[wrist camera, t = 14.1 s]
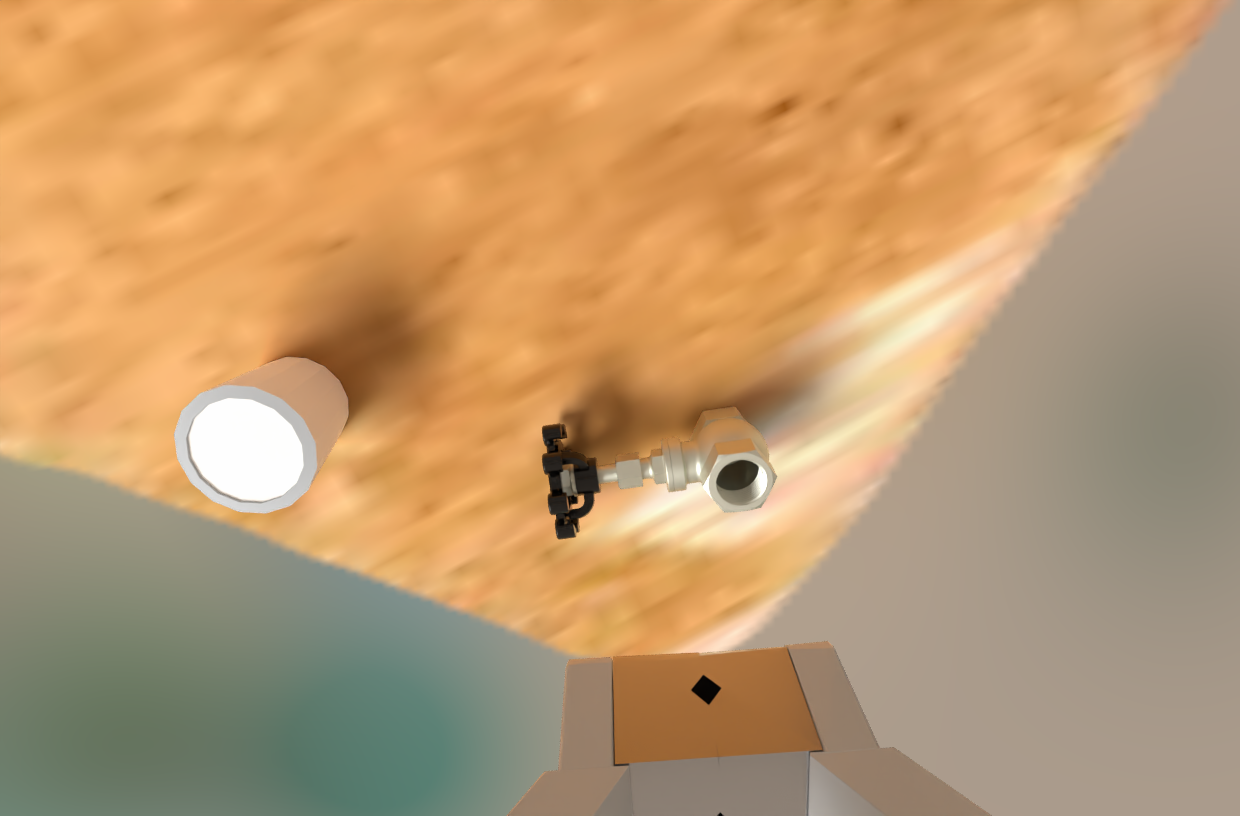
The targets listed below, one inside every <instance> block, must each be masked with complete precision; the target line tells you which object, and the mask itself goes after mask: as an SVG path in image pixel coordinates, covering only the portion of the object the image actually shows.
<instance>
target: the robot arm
mask: <svg viewBox="0 0 1240 816" xmlns="http://www.w3.org/2000/svg"><path fill="white" fill-rule="evenodd" d="M565 671H566V672H565V685H564V698H563V712H562V726H561V740H560V754H559V767H558V770H556V771H545V772H544V773H543V774H542V775H541V776H540V777H539V778H538V780H537V781H536V782H535V783H534V784H533V786H532V787H531V788H530V789H529V790H528V791H527V792H526V794H525V795H524V796H523V797H522V798H521V799H520V801H519V802H518V803H517V804H516V805H515V806H514V808H513V809H512V810H511V811H510V812H509V814H508V815H507V816H992V815H990V814H989V813H987V812H986V811H984V810H983V809H982V808H980V807H979V806H977V805H976V804H974V803H973V802H972V801H970V800H969V799H967V798H966V797H964V796H963V795H962V794H960V793H959V792H957V791H956V790H954V789H953V788H952V787H950V786H948V785H947V784H946V783H944V782H943V781H942V780H940V779H939V778H937V777H936V776H934V775H933V774H932V773H930V772H929V771H927V770H926V769H924V768H923V767H922V766H920V765H919V764H917V763H916V762H914V761H913V760H912V759H910V758H909V757H907V756H906V755H904V754H903V753H901V752H900V751H899V750H897V749H896V748H894V747H890V748H880V747H879V745H878V743H877V741H876V738H875V736H874V734H873V732H872V729H871V727H870V725H869V723H868V721H867V719H866V716H865V714H864V712H863V710H862V708H861V705H860V703H859V701H858V699H857V697H856V694H855V692H854V690H853V688H852V686H851V684H850V681H849V679H848V677H847V675H846V672H845V670H844V668H843V666H842V664H841V662H840V659H839V657H838V655H837V653H836V650H835V648H834V646H833V645H831V644H830V643H829V642H828V641H824V642H814V643H804V644H793V645H784V647H775V648H760V649H747V650H734V651H720V652H707V653H680V654H659V655H637V656H616V657H613V660H612V658H610V657H604V658H587V659H570V660H569V661H568V663H567V666H566V670H565Z"/></svg>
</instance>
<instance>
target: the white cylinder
mask: <svg viewBox="0 0 1240 816" xmlns="http://www.w3.org/2000/svg"><path fill="white" fill-rule="evenodd" d="M348 416H349V410H348V397H347V395H346V393H345V391H344V389H343V387H342V384H341V382H340V380H339V379H338V378H336V377H335V376H334V375H333V374H332V373H331V372H330V371H329V370H328V369H327V368H326V367H325V366H323V365H320V364H318V363H316V362H314V361H312V360H309V359H307V358H297V357H284V358H281V359H278V360H275V361H272V362H269V363H267V364H265V365H262V366H260V367H258V368H256V369H253V370H251V371H249V372H247V373H244V374H242V375H240V376H238V377H236V378H233V379H231V380H229V381H227V382H224V383H222V384H220V385H218V386H215V387H213V388H211V389H209V390H207V391H204V392H202V393H200V394H199V395H198V396H197V397H196V398H195V399H194V400H193V401H192V402H191V403H190V404H188V405H187V406H186V407H185V408H184V409H183V410H182V412H181V415H180V418H179V421H178V424H177V427H176V430H175V433H174V437H175V444H176V452H177V459H178V461H179V463H180V464H181V466H182V468H183V470H184V471H185V473H186V475H187V476H188V478H189V480H190V482H191V483H192V484H193V485H194V486H195V487H197V488H198V489H199V490H200V491H201V492H203V493H204V494H205V495H206V496H207V497H209V498H210V499H211V500H212V501H214V502H216V503H219V504H221V505H224V506H226V507H229V508H231V509H234V510H236V511H238V512H252V513H269V512H272V511H275V510H278V509H281V508H285V507H288V506H291V505H292V504H293V503H294V502H295V501H296V500H297V499H298V498H300V497H301V496H302V495H303V494H304V493H305V492H306V491H308V489H309V488H310V486H311V484H312V483H313V481H314V479H315V477H316V476H317V474H318V472H319V471H320V469H321V467H322V465H323V464H324V462H325V460H326V459H327V457H328V455H329V453H330V452H331V450H332V448H333V447H334V445H335V443H336V441H337V440H338V438H339V436H340V434H341V433H342V431H343V428H344V426H345V424H346V421H347V419H348Z"/></svg>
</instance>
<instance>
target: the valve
mask: <svg viewBox="0 0 1240 816" xmlns="http://www.w3.org/2000/svg"><path fill="white" fill-rule="evenodd" d="M542 435H543V441H544V444H545V446H547V453H545V454H543V455H542V463H543V469H544V473H545V474H546V475H548V477H549V483H550V494H548V507H549V511H550V514H551V515H556V520H555V529H556V535H557V538H558V539H559V540H560V539H567V538H574V537H576V533H577V532H579V531H580V526H579V518H582V517H585V516H586V515H588V514H589V513H590V511H591V510H592V508H593V506H594V501H595V497H594V494H596V493H600V492H601V484H602V483H610V482H617V481H618V485H619V488H620V489H627V488H634V487H641V486H643V480H642V479H649V478H652V479H654V481H655V483H656V484H662V483H667V488H668V492H674V491H682V490H686V485H687V484H689V483H696V482H701V483H702V485H703V487H704V489H705V490H706V491H707V493H708V494H709V495H710V496H711V498H712V499H713V500H714V501H715V502H716V504H717V505H718V506H719V507H720V508H721V509H722V510H723V511H724V512H741V511H747V510H753V509H757V508H761V507H762V505H763V504H764V502H765V501H766V499H767V497H768V495H769V493H770V491H771V489H772V487H773V485H774V483H775V480H776V478H777V475H776V473H775V471H774V469H773V467H772V465H771V464H770V462H769V451H768V447H767V444H766V442H765V439H764V438H763V436H762V435H761V433H760V432H759V431H758V430H757V429H756V428H755V427H754V426H753V425H751V424H750V423H748V422H747V421H746V420H745V418H744V417H743V416H742V415H741V413H740V412H739V411H738V409H737V408H736V407H726V408H719V409H712V410H705V411H702V413H701V415H700V417H699V420H698V422H697V424H696V426H695V428H694V430H693V432H692V435H691V437H690V441H686V442H680V439H679V437H671V438H665V439H661V449H656V450H651V455H650V456H649V457H647V458H640V459H639V453H638V452H635V453H628V454H621V455H616V457H615V464H609V465H602V466H598V462H597V459H596V458H595V457H594V458H586V457H585V456H584V455H583V454H581V453H577V452H571V450H570V449H569V450H564V447H563V444H562V442H561V440H560V439H563V438H567V432H566V427H565V424H553V425H546V426H543V427H542ZM581 495H584V499H585V502H584V505H583V506H582V507H581V508H579V509H572V505H573V504H578V496H581Z"/></svg>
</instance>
